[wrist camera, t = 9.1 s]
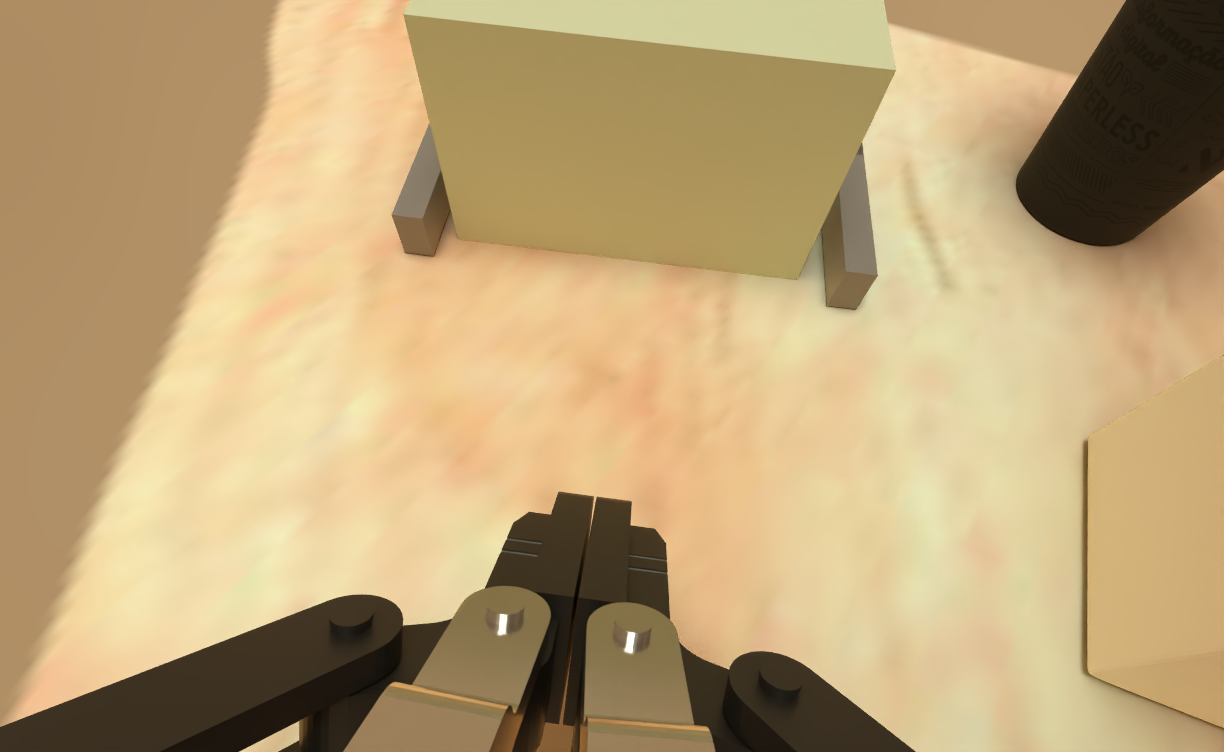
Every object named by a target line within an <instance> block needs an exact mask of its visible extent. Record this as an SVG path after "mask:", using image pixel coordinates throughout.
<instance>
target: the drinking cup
mask: <svg viewBox="0 0 1224 752" xmlns="http://www.w3.org/2000/svg"><path fill="white" fill-rule="evenodd" d="M1223 170H1224V0H1126V2H1125V3H1124V5H1123V6H1122V8H1121V10H1120V11H1119V13H1118V14H1117V16H1116V17H1115V19H1114V21H1113V22H1112V24H1111V25H1110V27H1109V29H1108V30H1107V32H1106V34H1105V35H1104V37H1103V38H1102V40H1101V41H1100V43H1099V45H1098V46H1097V48H1096V49H1095V51H1094V53H1093V54H1092V56H1091V57H1090V59H1089V61H1088V62H1087V64H1086V65H1085V67H1084V69H1083V70H1082V72H1081V73H1080V75H1079V77H1078V78H1077V80H1076V81H1075V83H1074V85H1073V86H1072V88H1071V90H1070V91H1069V93H1068V94H1067V96H1066V98H1065V99H1064V101H1063V102H1062V104H1061V106H1060V107H1059V109H1058V110H1057V112H1056V114H1055V115H1054V117H1053V118H1052V120H1051V122H1050V123H1049V125H1048V126H1047V128H1046V130H1045V131H1044V133H1043V134H1042V136H1041V138H1040V139H1039V141H1038V142H1037V144H1036V146H1035V147H1034V149H1033V150H1032V152H1031V154H1030V155H1029V157H1028V158H1027V160H1026V162H1025V163H1024V165H1023V166H1022V168H1021V170H1020V172H1019V174H1018V177H1017V190H1018V194H1019V196H1020V198H1021V200H1022V202H1023V204H1024V205H1025V207H1026V208H1027V209H1028V210H1029V211H1030V213H1031V214H1032V215H1033V216H1034V217H1035V218H1037V219H1038V220H1039V221H1040V222H1041V223H1043V224H1044V225H1046V226H1047V227H1049V228H1050V229H1052V230H1054V231H1055V232H1057V233H1059V234H1061V235H1063V236H1066V237H1068V238H1071V239H1073V240H1076V241H1080V242H1084V243H1088V244H1094V245H1116V244H1121V243H1124V242H1127V241H1129V240H1131V239H1133V238H1135V237H1136V236H1138V235H1139V234H1140V233H1141V232H1143V231H1144V230H1145V229H1147V228H1148V227H1149V226H1151V225H1152V224H1153V223H1155V222H1156V221H1157V220H1159V219H1160V218H1161V217H1162V216H1164V215H1165V214H1166V213H1168V212H1169V211H1170V210H1172V209H1173V208H1174V207H1176V206H1177V205H1178V204H1180V203H1181V202H1182V201H1184V200H1185V199H1186V198H1187V197H1189V196H1190V195H1191V194H1193V193H1194V192H1195V191H1197V190H1198V189H1199V188H1201V187H1202V186H1203V185H1205V184H1206V183H1207V182H1208V181H1210V180H1211V179H1212V178H1214V177H1215V176H1216V175H1218V174H1219V173H1220V172H1222V171H1223Z"/></svg>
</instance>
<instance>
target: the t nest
mask: <svg viewBox="0 0 1224 752" xmlns="http://www.w3.org/2000/svg"><path fill="white" fill-rule="evenodd" d="M449 210H450V205H449V201H448V196H447V192H446V188H445V184H444V180H443V176H442V172H441V167H440V163H439V159H438V155H437V151H436V147H435V143H434V139H433V134H432V130H431V126H430V123H429V126H428V128H427V130H426V133H425V135H424V138H423V140H422V143H421V145H420V147H419V150H418V152H417V155H416V157H415V160H414V162H413V164H412V167H411V169H410V172H409V174H408V177H407V179H406V181H405V184H404V186H403V189H402V191H401V194H400V196H399V198H398V201H397V203H396V206H395V208H394V211H393V213H392V217H393V220H394V223H395V226H396V228H397V231H398V234H399V237H400V240H401V243H402V245H403V248H404V251H405V253H413V254H421V255H429V256H434V253H435V250H436V247H437V245H438V242H439V239H440V236H441V233H442V230H443V227H444V225H445V222H446V219H447V216H448V213H449ZM822 238H823V254H824V270H825V286H826V302H827V306H833V307H841V308H849V309H857V307H858V306H859V304H860V302H861V301H862V299H863V298H864V296H865V295H866V293H867V291H868V290H869V288H870V287H871V285H872V284H873V282H874V280H875V279H876V277H877V276H878V274H877V266H876V257H875V248H874V240H873V231H872V223H871V214H870V206H869V197H868V189H867V180H866V172H865V163H864V154H863V146H862V143H861V145H860V147H859V149H858V151H857V154H856V156H855V158H854V160H853V162H852V164H851V166H850V168H849V170H848V173H847V175H846V177H845V179H844V181H843V183H842V185H841V187H840V189H839V192H838V194H837V196H836V198H835V200H834V202H833V204H832V206H831V209H830V211H829V213H828V215H827V217H826V219H825V221H824V223H823V225H822Z"/></svg>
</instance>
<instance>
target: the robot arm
mask: <svg viewBox="0 0 1224 752" xmlns="http://www.w3.org/2000/svg"><path fill="white" fill-rule="evenodd" d="M593 500H594V496H587V495H580V494H572V493H565V492H558V495H557V498H556V501H555V504H554V507H553V510H552V513H551V515H548V514H541V513H534V512H528V513H527V514H526V515H524V516H523V517H521V518H520V519H518V520H517V521H515V522H514V523H513V525H512V527H511V530H510V532H509V534H508V537H507V540H506V541H505V543H504V546H503V548H502V552H501V553H500V555H499V557H498V559H497V562H496V564H495V566H494V569H493V571H492V573H491V575H490V578H489V580H488V582H487V585H486V587H485V589H482V590H480V591H477V592H475V593H473V594H472V595H470V596H469V597H468V598H466V599H465V600H464V602H463V603H462V604H461V606H460V607H459V609H458V611H457V612H456V614H455V616H454V617H453V619H450V620H447V621H442V622H437V623H429V624H417V625H404V626H403V616H402V612H401V610H400V609H399V608H398V606H397V605H396V604H394V603H393V602H391V601H389V600H387V599H385V598H382V597H379V596H373V595H349V596H343V597H339V598H335V599H332V600H329V601H326V602H324V603H321V604H319V605H316V606H313V607H311V608H308V609H306V610H303V611H300V612H298V613H295V614H293V615H290V616H287V617H285V618H282V619H280V620H277V621H274V622H272V623H269V624H267V625H264V626H261V627H259V628H256V629H254V630H251V631H248V632H246V633H243V634H241V635H238V636H235V637H233V638H230V639H228V640H225V641H223V642H220V643H217V644H215V645H212V646H210V647H207V648H204V649H202V650H199V651H197V652H194V653H191V654H189V655H186V656H184V657H181V658H178V659H176V660H173V661H171V662H168V663H165V664H163V665H160V666H158V667H155V668H152V669H150V670H147V671H145V672H142V673H139V674H137V675H134V676H132V677H129V678H126V679H124V680H121V681H119V682H116V683H113V684H111V685H108V686H106V687H103V688H100V689H98V690H95V691H93V692H90V693H88V694H85V695H82V696H80V697H77V698H75V699H72V700H69V701H67V702H64V703H62V704H59V705H56V706H54V707H51V708H49V709H46V710H43V711H41V712H38V713H36V714H33V715H30V716H28V717H25V718H23V719H20V720H17V721H15V722H12V723H10V724H7V725H4V726H2V727H0V752H239V751H241V750H243V749H245V748H247V747H249V746H251V745H253V744H255V743H257V742H259V741H261V740H263V739H265V738H267V737H269V736H270V735H272V734H274V733H276V732H278V731H280V730H282V729H284V728H286V727H288V726H290V725H292V724H294V723H296V722H298V721H299V741H297V742H296V743H294V744H292V745H290V746H288V747H286V748H284V749H282V750H281V751H279V752H536V750H537V748H538V747H539V745H540V742H541V739H542V735H543V730H544V725H545V722H548V723H555V724H559V720H560V714H561V709H562V703H563V697H564V692H565V686H566V680H567V675H568V669H569V663H570V670H569V679H568V687H567V695H566V704H565V712H564V720H563V724H564V725H571V726H574V731H573V739H572V747H571V752H915V751H914V750H913V749H911V748H910V747H909V746H908V745H906V744H905V743H904V742H902V741H901V740H900V739H899V738H897V737H896V736H895V735H894V734H892V733H891V732H890V731H888V730H887V729H886V728H885V727H883V726H882V725H881V724H880V723H878V722H877V721H876V720H874V719H873V718H872V717H871V716H869V715H868V714H867V713H865V712H864V711H863V710H862V709H860V708H859V707H858V706H857V705H855V704H854V703H853V702H851V701H850V700H849V699H848V698H846V697H845V696H844V695H842V694H841V693H840V692H839V691H837V690H836V689H835V688H834V687H832V686H831V685H830V684H828V683H827V682H826V681H825V680H823V679H822V678H821V677H819V676H818V675H817V674H816V673H814V672H813V671H812V670H811V669H809V668H808V667H806V666H805V665H803V664H802V663H800V662H798V661H796V660H794V659H792V658H789V657H787V656H784V655H781V654H777V653H772V652H764V651H760V652H750V653H746V654H743V655H741V656H739V657H738V658H737V659H735V660H734V661H733V663H732V664H731V666H730V670H728V669H726V668H723V667H721V666H718V665H715V664H713V663H710V662H708V661H705V660H703V659H701V658H699V657H697V656H696V655H694V654H693V653H691V652H690V651H688V650H687V649H686V648H685V647H684V646H682V645H681V643H680V642H679V639H678V634H677V630H676V628H675V626H674V625H673V623H672V622H671V621H670V611H669V592H668V575H667V562H666V561H667V555H666V543H665V542H664V540H663V539H662V538H661V536H660V535H659V534H658V532H657V531H656V530H655V529H653V528H645V527H638V526H630V522H631V505H632V501H625V500H618V499H610V498H603V497H597V498H596V503H595V509H594V514H593V520H592V525H591V518H592V509H593ZM590 526H591V531H590ZM589 534H590V536H589ZM571 652H572V654H571ZM570 658H571V662H570Z"/></svg>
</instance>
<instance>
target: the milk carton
mask: <svg viewBox="0 0 1224 752" xmlns="http://www.w3.org/2000/svg"><path fill="white" fill-rule="evenodd" d="M1087 666H1088V672H1089V673H1090V674H1091V675H1093V676H1094V677H1096V678H1099V679H1101V680H1103V681H1106V682H1108V683H1110V684H1113V685H1115V686H1118V687H1120V688H1123V689H1125V690H1128V691H1130V692H1133V693H1135V694H1138V695H1141V696H1143V697H1146V698H1148V699H1151V700H1153V701H1156V702H1158V703H1161V704H1164V705H1166V706H1169V707H1171V708H1174V709H1176V710H1179V711H1181V712H1184V713H1186V714H1189V715H1192V716H1194V717H1197V718H1199V719H1202V720H1204V721H1207V722H1209V723H1212V724H1214V725H1217V726H1220V727H1222V728H1224V355H1222V356H1221V357H1219V358H1217V359H1216V360H1214V361H1213V362H1211V363H1209V364H1208V365H1206V366H1204V367H1203V368H1201V369H1199V370H1198V371H1196V372H1194V373H1193V374H1191V375H1189V376H1188V377H1186V378H1184V379H1183V380H1181V381H1180V382H1178V383H1176V384H1175V385H1173V386H1171V387H1170V388H1168V389H1166V390H1165V391H1163V392H1161V393H1160V394H1158V395H1156V396H1155V397H1153V398H1151V399H1150V400H1148V401H1146V402H1145V403H1143V404H1142V405H1140V406H1138V407H1137V408H1135V409H1133V410H1132V411H1130V412H1128V413H1127V414H1125V415H1123V416H1122V417H1120V418H1118V419H1117V420H1115V421H1113V422H1112V423H1110V424H1108V425H1107V426H1105V427H1104V428H1102V429H1100V430H1099V431H1097V432H1095V433H1094V434H1092V435H1091V436H1090V437H1089V439H1088V589H1087Z"/></svg>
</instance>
